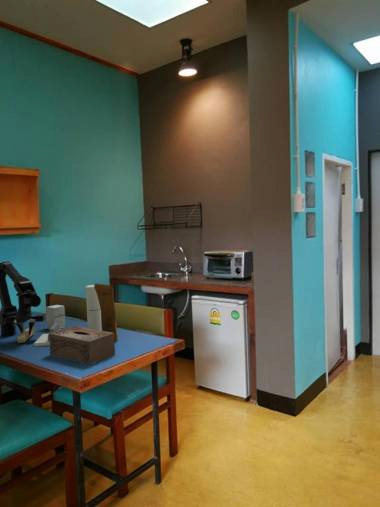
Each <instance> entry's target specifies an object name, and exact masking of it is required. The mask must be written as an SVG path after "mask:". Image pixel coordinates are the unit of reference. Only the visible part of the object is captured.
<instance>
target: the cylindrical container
mask: <svg viewBox="0 0 380 507" xmlns="http://www.w3.org/2000/svg"><path fill="white" fill-rule="evenodd" d="M94 285H95V284H90V285H86V286H85V301H86V318H87V319H86V320H87V321H86V322H87V328H89V329H94V330H100V331H102V322H101V309H100V305H99V301H98V297H97V293H96V291H95V288H94Z"/></svg>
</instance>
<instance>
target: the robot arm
mask: <svg viewBox="0 0 380 507" xmlns="http://www.w3.org/2000/svg"><path fill="white" fill-rule="evenodd" d="M6 277H9V279H10V280H11V281H12V282H13V288H14V290H15V292H16V294H15V296H17V299H18V300H17V302H18V303H17V304H18V308H17V306H16V305H14V304H12V300H11V299H12V298H11V296H10V291H9V287H8V284H7V279H6ZM41 303H42V299H41V297H40V296H39V295H38V293H37V291H36V288H35V287H34V284H33V283H32V281H31V280H30V279H29V278H28V277H25V276H22V274H21V273H20V272H19V271H18V270H17V269H16V267H15V266H14V265H13V263H12V261H1V262H0V304H1V308H0V337H13V336H14V335H16V334H17V328H18V329H19V331H20V334H21V333H23V332H24V331H25V327H24V326H25V325H24V323H27V322H28V321H29V322H28V327H29V335H31V332H32V329H33V327H35V324H36V323H38V322H39V323H40V322H44V321H45V320H47V316H46V314H45V313H37V314H36V315H35V316H34V315H33V313H32V307H33V308H37V307H39V306H40V305H41Z"/></svg>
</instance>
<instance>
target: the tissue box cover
mask: <svg viewBox="0 0 380 507" xmlns="http://www.w3.org/2000/svg"><path fill="white" fill-rule="evenodd" d="M48 334H49V341H50V345H49V354H50V356H53V355H54V357H57V356H58V357H57V358H61V357H62V359H65V358H67V359H66V360H69V359H71V360H70V361H73V360H75V361H74V362H77V361H79V362H78V363H81V362H83V363H82V364H85V363H87V364H86V365H89V364H91V365H93V364H95V362H96V363H98V362H100V361H103V360H105V359H108V358H110V357H112V356H115V355H116V345H115V344H116V343H115V340H114V333H111V332H106V331H100V330H94V329H89V328H88V327H82V326H76V325H74V326H70V327H67V328H66V327H65V328H62V329H61V330H59V331H56V332H52V333H50V332H49V333H48ZM92 363H93V364H92Z"/></svg>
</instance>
